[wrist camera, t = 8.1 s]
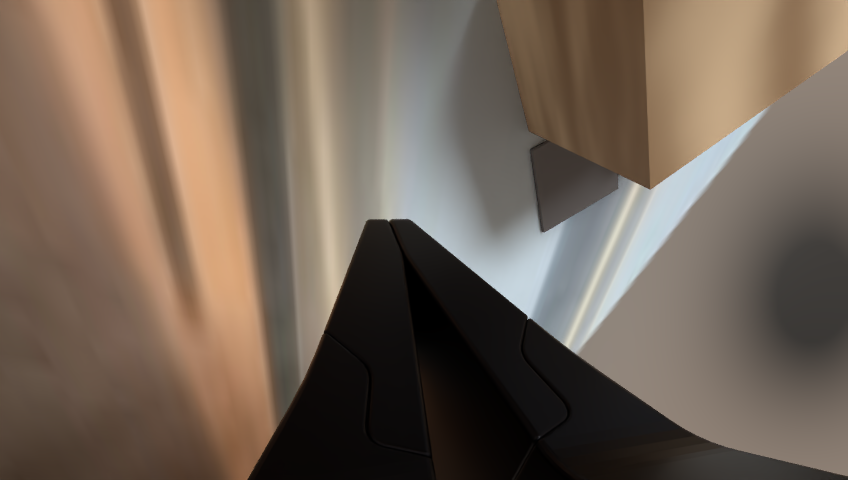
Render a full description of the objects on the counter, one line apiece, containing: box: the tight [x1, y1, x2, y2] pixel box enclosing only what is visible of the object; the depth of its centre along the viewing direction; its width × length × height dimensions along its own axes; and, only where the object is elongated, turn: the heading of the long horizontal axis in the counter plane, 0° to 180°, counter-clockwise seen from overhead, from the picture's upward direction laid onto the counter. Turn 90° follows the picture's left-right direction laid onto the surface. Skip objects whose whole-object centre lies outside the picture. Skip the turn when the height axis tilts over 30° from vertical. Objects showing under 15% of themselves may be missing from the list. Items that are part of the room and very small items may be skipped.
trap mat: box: [530, 140, 618, 232], centre depth 26 cm, size 6×6×1 cm
